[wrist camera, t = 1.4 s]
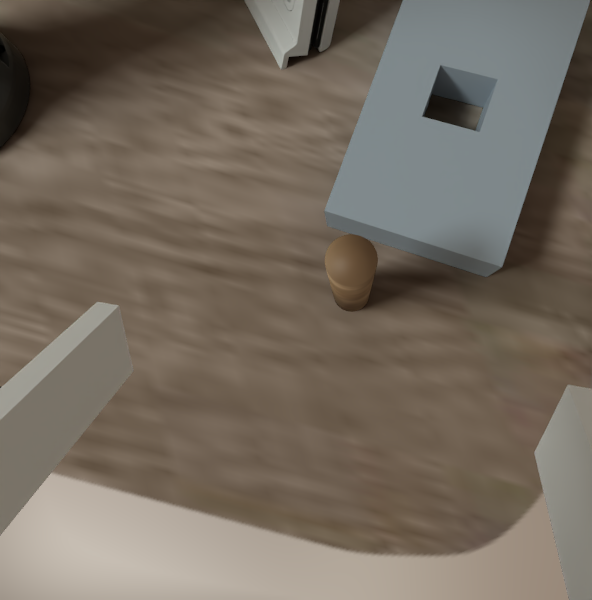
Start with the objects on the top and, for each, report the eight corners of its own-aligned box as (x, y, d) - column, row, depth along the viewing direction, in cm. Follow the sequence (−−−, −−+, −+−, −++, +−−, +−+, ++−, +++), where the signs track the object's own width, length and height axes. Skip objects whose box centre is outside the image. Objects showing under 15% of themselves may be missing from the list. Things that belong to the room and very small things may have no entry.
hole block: (486, 277, 37) (502, 267, 34) (327, 225, 40) (324, 210, 36) (571, 22, 40) (595, -16, 36) (415, -13, 42) (422, -52, 38)
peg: (328, 304, 39) (317, 275, 26) (340, 272, 39) (335, 227, 26) (362, 316, 38) (367, 292, 26) (373, 283, 39) (384, 243, 26)
